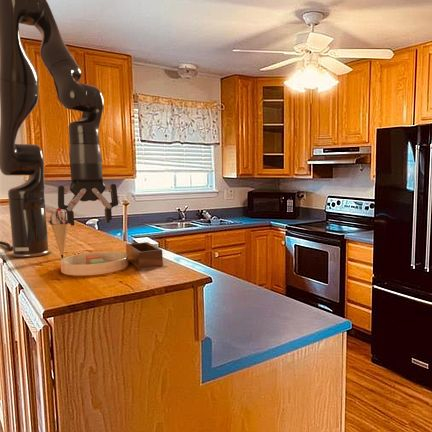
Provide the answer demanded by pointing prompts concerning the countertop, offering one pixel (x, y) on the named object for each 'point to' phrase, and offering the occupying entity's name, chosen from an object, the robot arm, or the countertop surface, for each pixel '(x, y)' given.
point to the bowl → (79, 266)
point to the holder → (144, 255)
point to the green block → (97, 261)
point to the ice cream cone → (59, 228)
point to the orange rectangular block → (89, 257)
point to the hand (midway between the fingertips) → (90, 223)
